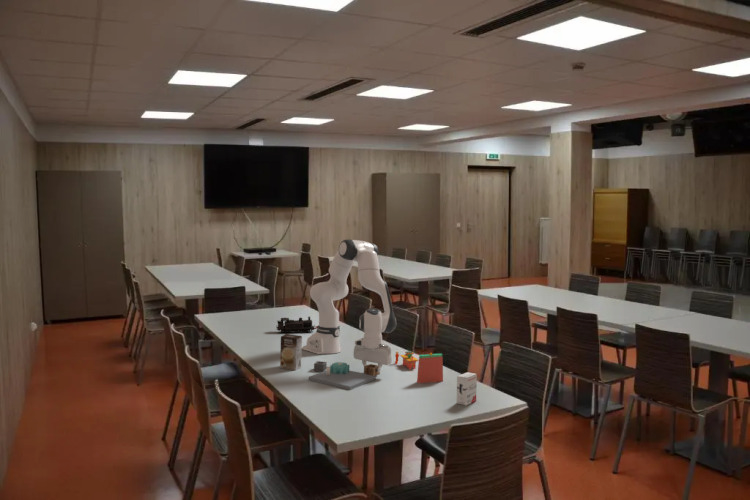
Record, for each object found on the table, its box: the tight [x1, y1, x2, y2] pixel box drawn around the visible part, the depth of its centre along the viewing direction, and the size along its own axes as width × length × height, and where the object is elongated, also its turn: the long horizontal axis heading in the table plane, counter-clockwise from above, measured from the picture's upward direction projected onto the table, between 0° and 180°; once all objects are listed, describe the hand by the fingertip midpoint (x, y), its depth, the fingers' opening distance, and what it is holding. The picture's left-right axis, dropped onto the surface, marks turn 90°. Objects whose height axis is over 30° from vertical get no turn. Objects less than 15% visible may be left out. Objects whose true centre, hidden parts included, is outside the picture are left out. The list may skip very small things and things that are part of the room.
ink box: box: [456, 372, 478, 406], centre depth 247 cm, size 8×5×12 cm, turn 140°
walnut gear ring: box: [363, 363, 381, 377], centre depth 285 cm, size 6×7×4 cm
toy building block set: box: [394, 350, 444, 384], centre depth 290 cm, size 12×35×14 cm, turn 19°
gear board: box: [308, 361, 376, 391], centre depth 275 cm, size 24×20×6 cm
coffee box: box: [279, 333, 303, 371], centre depth 292 cm, size 9×6×16 cm
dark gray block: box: [313, 360, 328, 373], centre depth 290 cm, size 5×5×4 cm
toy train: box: [275, 316, 316, 334], centre depth 372 cm, size 8×25×10 cm, turn 103°
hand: (372, 370), depth 285 cm, fingers closed on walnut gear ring, 6 cm apart
